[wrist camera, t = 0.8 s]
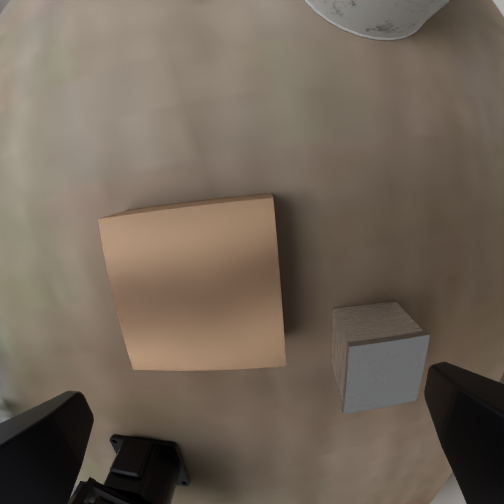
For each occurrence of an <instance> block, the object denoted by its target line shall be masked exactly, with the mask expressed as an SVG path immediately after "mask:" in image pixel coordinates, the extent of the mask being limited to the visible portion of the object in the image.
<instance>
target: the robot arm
mask: <svg viewBox="0 0 504 504" xmlns="http://www.w3.org/2000/svg"><path fill="white" fill-rule="evenodd" d="M424 395H425V400H426V403H427V406H428V409H429V411H430V414H431V417H432V420H433V423H434V426H435V429H436V432H437V435H438V438H439V441H440V443H441V446H442V448H443V451H444V453H445V455H446V457H447V459H448V462H449V464H450V466H451V468H452V470H453V473H454V475H455V477H456V480H457V482H458V484H459V486H460V489H461V491H462V494H463V496H464V498H465V501H466V503H467V504H504V384H502V383H500V382H497V381H494V380H492V379H489V378H486V377H484V376H481V375H478V374H476V373H473V372H471V371H468V370H465V369H463V368H460V367H458V366H455V365H452V364H450V363H447V362H440V363H436V364H433V365H431V366H430V367H429V370H428V375H427V380H426V386H425V391H424ZM93 422H94V418H93V414H92V411H91V409H90V407H89V405H88V403H87V401H86V399H85V397H84V395H83V394H82V393H81V392H78V391H67V392H65V393H63V394H61V395H58V396H56V397H54V398H52V399H50V400H48V401H46V402H44V403H42V404H40V405H38V406H36V407H34V408H32V409H30V410H28V411H25V412H23V413H21V414H19V415H17V416H15V417H13V418H11V419H8V420H6V421H4V422H2V423H0V504H171V502H172V498H173V494H174V491H175V487H176V485H182V486H188V485H189V484H190V479H189V477H188V474H187V472H186V469H185V467H184V464H183V461H182V459H181V456H180V453H179V450H178V448H177V445H176V444H174V443H172V442H163V441H153V440H145V439H137V438H129V437H123V436H116V435H112V436H111V438H110V442H111V444H112V446H113V448H114V450H115V452H116V454H117V455H116V457H115V459H114V461H113V463H112V465H111V467H110V472H109V474H108V476H107V478H106V480H105V482H104V484H103V485H102V484H100V483H99V482H97V481H96V480H95V479H93V478H91V477H90V478H89V479H88V481H86V482H83V481H80V483H79V485H78V486H77V488H76V490H75V492H74V494H73V495H72V497H71V498H70V496H71V493H72V491H73V488H74V485H75V482H76V480H77V477H78V474H79V472H80V469H81V466H82V463H83V459H84V455H85V451H86V448H87V444H88V440H89V437H90V433H91V429H92V426H93Z"/></svg>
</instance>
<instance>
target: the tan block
mask: <svg viewBox="0 0 504 504" xmlns="http://www.w3.org/2000/svg"><path fill="white" fill-rule="evenodd" d="M98 222H99V228H100V234H101V240H102V246H103V251H104V256H105V261H106V266H107V271H108V276H109V281H110V285H111V290H112V294H113V298H114V302H115V307H116V311H117V314H118V318H119V322H120V326H121V330H122V333H123V337H124V340H125V344H126V347H127V351H128V354H129V357H130V361H131V364H132V367H133V369H135V370H233V369H253V368H269V367H282V366H286V356H285V341H284V326H283V311H282V298H281V284H280V272H279V259H278V247H277V235H276V224H275V212H274V201H273V196H272V193H270V194H259V195H248V196H238V197H229V198H219V199H210V200H202V201H193V202H185V203H177V204H169V205H162V206H154V207H147V208H140V209H133V210H126V211H123V212H119V213H116V214H113V215H110V216H106V217H103V218H100V219H98Z"/></svg>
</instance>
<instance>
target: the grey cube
mask: <svg viewBox="0 0 504 504" xmlns="http://www.w3.org/2000/svg"><path fill="white" fill-rule="evenodd" d="M429 338H430V334H429V333H428V332H427V331H423V330H422V329H421V328H420V327H419V326H418V325H417V324H416V322H415V321H414V320H413V319H412V318H411V317H410V316H409V315H408V314H407V313H406V312H405V311H404V309H403V308H402V307H401V306H400V305H399V304H398V303H397V302H387V303H379V304H370V305H361V306H351V307H342V308H333V311H332V355H331V367H332V370H333V373H334V377H335V380H336V383H337V386H338V390H339V393H340V396H341V400H342V410H343V414H346V413H353V412H360V411H366V410H372V409H378V408H383V407H388V406H393V405H398V404H403V403H408V402H412V401H416V400H417V396H418V392H419V388H420V384H421V379H422V375H423V370H424V365H425V360H426V355H427V350H428V344H429Z"/></svg>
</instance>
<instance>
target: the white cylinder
mask: <svg viewBox="0 0 504 504" xmlns="http://www.w3.org/2000/svg"><path fill="white" fill-rule="evenodd" d="M304 1H305V2H306V3H307V4H308V5H309V6H310V7H311V8H312V9H313V10H314V11H315V12H316V13H317V14H318V15H320V16H321V17H322V18H324V19H325V20H326V21H328V22H329V23H331V24H333V25H335V26H336V27H338V28H340V29H342V30H344V31H346V32H349V33H352V34H354V35H357V36H360V37H365V38H369V39H374V40H396V39H402V38H405V37H408V36H410V35H412V34H414V33H415V32H416V31H417V30H419V29H420V28H421V27H422V26H423V24H424V22H426V21H427V20H428V19H429V18H430V17H431V16H433V15H434V14H435V13H436V12H437V11H438V10H439V9H441V8H442V7H443V6H444V5H445V4H447V3H448V2H449V1H450V0H304Z"/></svg>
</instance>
